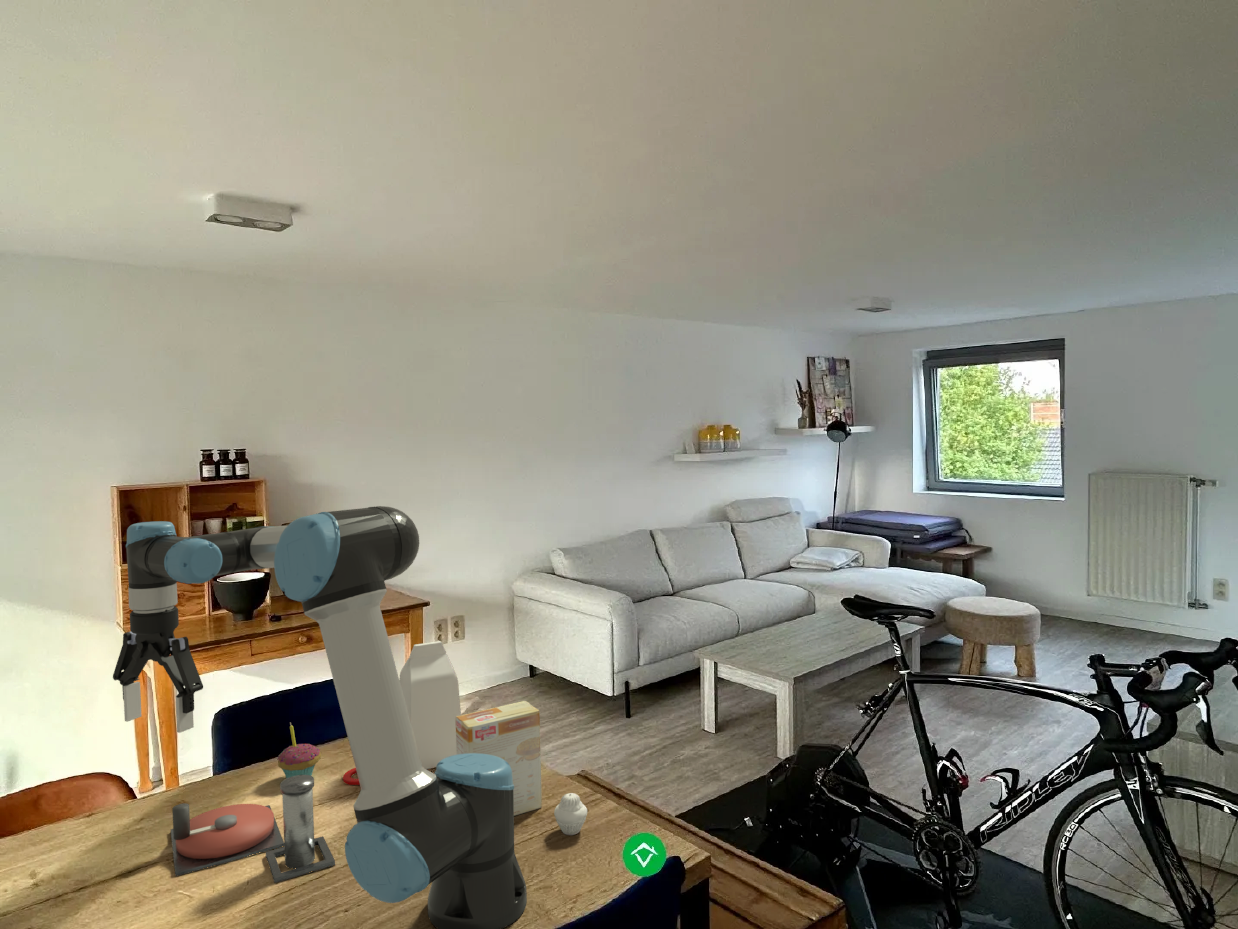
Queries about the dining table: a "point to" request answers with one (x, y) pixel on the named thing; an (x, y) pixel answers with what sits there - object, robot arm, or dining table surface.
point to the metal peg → (298, 820)
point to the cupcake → (298, 758)
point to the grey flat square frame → (304, 869)
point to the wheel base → (192, 864)
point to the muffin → (570, 814)
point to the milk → (431, 701)
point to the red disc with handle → (220, 830)
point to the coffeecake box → (508, 746)
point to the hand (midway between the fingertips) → (158, 724)
